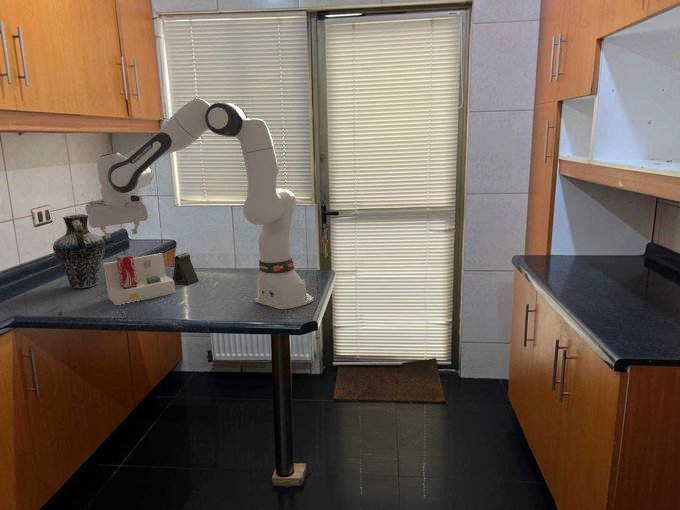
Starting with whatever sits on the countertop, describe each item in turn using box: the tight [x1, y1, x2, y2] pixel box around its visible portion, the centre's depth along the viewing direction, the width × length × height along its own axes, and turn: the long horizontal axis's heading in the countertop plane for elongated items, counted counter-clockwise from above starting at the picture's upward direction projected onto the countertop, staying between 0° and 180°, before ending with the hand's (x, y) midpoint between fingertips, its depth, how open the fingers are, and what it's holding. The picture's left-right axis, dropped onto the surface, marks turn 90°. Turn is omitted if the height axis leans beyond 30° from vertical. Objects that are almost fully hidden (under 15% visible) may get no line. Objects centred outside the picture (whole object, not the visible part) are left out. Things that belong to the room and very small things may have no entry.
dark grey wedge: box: [172, 252, 199, 286], centre depth 212 cm, size 9×6×12 cm, turn 64°
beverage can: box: [116, 253, 138, 288], centre depth 192 cm, size 6×6×12 cm
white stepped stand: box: [102, 252, 177, 306], centre depth 197 cm, size 12×22×14 cm, turn 126°
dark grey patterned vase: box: [52, 213, 106, 289], centre depth 213 cm, size 21×19×30 cm
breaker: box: [147, 276, 160, 284], centre depth 199 cm, size 4×4×4 cm
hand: (121, 236), depth 189 cm, fingers open, 8 cm apart
